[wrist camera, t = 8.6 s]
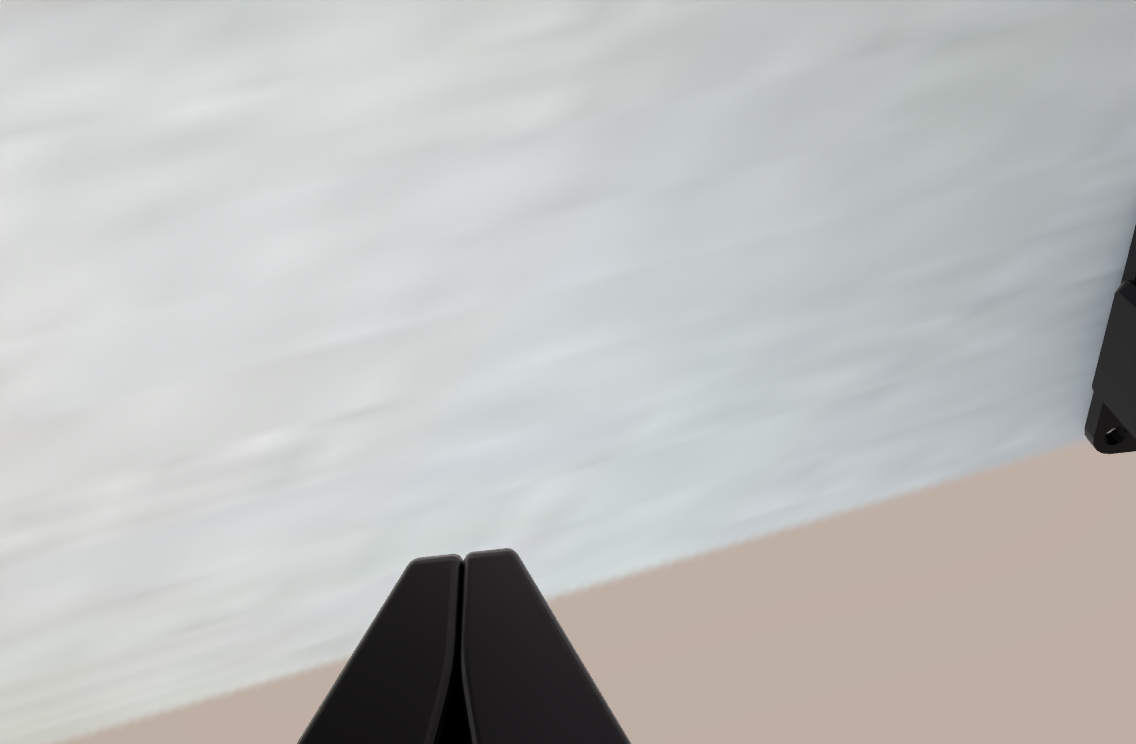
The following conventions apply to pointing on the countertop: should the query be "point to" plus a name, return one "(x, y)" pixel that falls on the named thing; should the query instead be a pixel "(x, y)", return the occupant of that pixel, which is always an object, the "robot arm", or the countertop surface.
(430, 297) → the countertop surface
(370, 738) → the robot arm
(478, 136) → the countertop surface
